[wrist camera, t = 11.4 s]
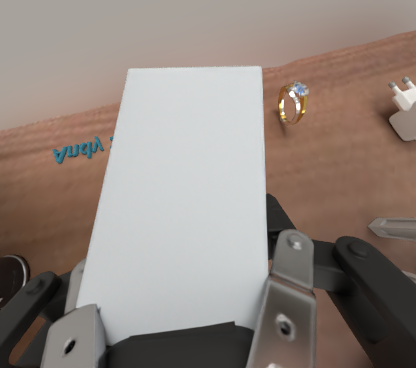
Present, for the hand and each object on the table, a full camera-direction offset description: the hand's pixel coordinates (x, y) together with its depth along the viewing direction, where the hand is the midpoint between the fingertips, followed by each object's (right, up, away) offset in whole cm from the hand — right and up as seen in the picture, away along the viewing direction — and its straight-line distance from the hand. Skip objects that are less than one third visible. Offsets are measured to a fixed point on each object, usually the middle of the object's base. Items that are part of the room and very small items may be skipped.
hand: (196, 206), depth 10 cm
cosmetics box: (+1, -1, +5) cm, 5 cm away
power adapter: (+38, +15, +19) cm, 45 cm away
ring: (+16, +15, +22) cm, 31 cm away
